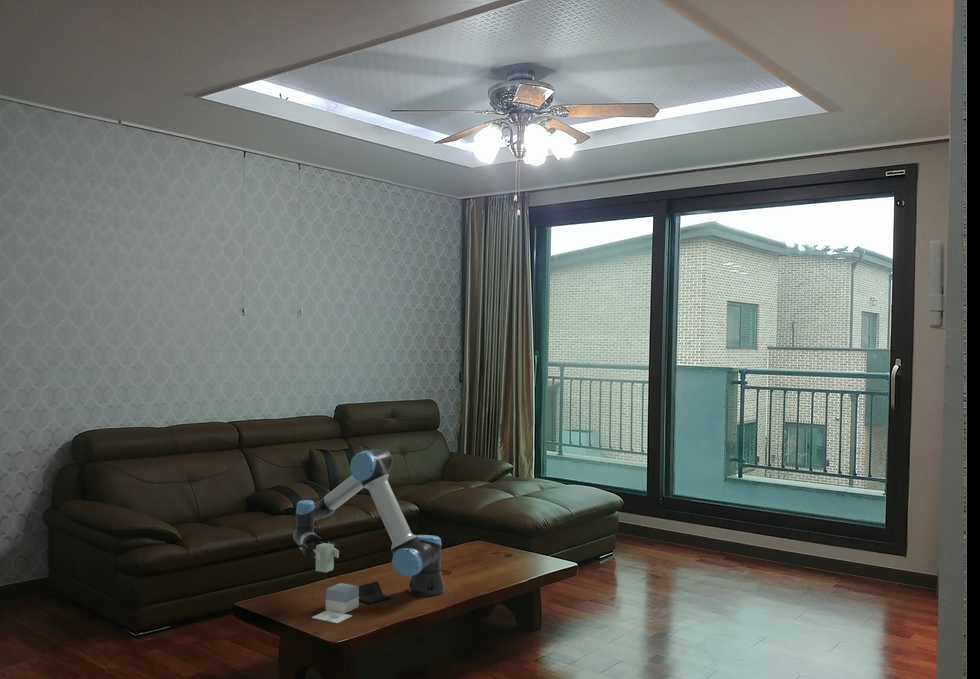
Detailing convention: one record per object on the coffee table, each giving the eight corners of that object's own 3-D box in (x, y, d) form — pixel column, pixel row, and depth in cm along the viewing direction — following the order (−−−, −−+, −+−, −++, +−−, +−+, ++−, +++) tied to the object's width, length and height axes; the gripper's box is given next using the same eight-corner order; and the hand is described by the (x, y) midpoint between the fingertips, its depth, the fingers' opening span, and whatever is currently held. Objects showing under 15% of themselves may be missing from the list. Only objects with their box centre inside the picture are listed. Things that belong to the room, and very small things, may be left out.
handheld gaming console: (373, 602, 307) (364, 578, 311) (361, 610, 309) (353, 587, 314) (393, 599, 316) (384, 576, 320) (381, 607, 318) (373, 584, 323)
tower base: (358, 606, 305) (358, 586, 305) (344, 613, 297) (344, 592, 297) (340, 603, 309) (340, 582, 309) (325, 609, 301) (326, 588, 301)
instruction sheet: (352, 616, 294) (352, 615, 294) (337, 623, 286) (337, 622, 286) (327, 611, 300) (327, 609, 300) (311, 617, 292) (311, 616, 292)
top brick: (333, 569, 311) (333, 544, 311) (325, 572, 306) (326, 547, 306) (323, 567, 313) (323, 542, 313) (315, 571, 308) (315, 545, 308)
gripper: (334, 549, 330) (352, 562, 310) (287, 554, 321) (303, 568, 301) (334, 531, 331) (352, 543, 311) (287, 536, 321) (303, 548, 301)
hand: (328, 555), depth 306 cm, fingers closed on top brick, 7 cm apart
